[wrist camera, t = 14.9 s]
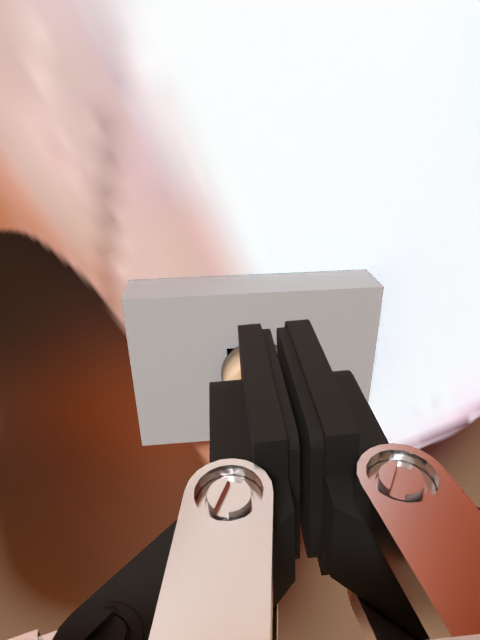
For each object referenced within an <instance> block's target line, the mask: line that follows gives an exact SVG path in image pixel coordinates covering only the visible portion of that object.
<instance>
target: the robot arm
mask: <svg viewBox="0 0 480 640" xmlns="http://www.w3.org/2000/svg"><path fill="white" fill-rule="evenodd" d="M276 335H277V352H276V348H275V345H274V341H273V337H272V333H271V330H270V329H262V327H261V323H258V324H246V325H238V341H239V355H240V369H241V379H240V380H229V381H217V382H210V383H209V427H210V463H209V464H207V465H205V466H204V467H202V468H201V469H199V470H197V472H196V473H195V474H194V475H193V476H192V477H191V478H190V479H189V482H188V484H187V486H186V488H185V491H184V496H183V500H182V504H181V508H180V512H179V516H178V519H177V520H176V521H175V522H174V523H173V524H171V525H170V526H169V527H168V528H167V529H166V530H165V531H164V532H163V533H161V534H160V535H159V536H158V537H157V538H156V539H155V540H154V541H152V542H151V543H150V544H149V545H148V546H147V547H146V548H145V549H143V550H142V551H141V552H140V553H139V554H138V555H137V556H136V557H134V558H133V559H132V560H131V561H130V562H129V563H128V564H127V565H125V566H124V567H123V568H122V569H121V570H120V571H119V572H118V573H116V574H115V575H114V576H113V577H112V578H111V579H110V580H109V581H107V582H106V583H105V584H104V585H103V586H102V587H101V588H100V589H99V590H97V591H96V592H95V593H94V594H93V595H92V596H91V597H90V598H89V599H87V600H86V601H85V602H84V603H83V604H82V605H81V606H79V607H78V608H77V609H76V610H75V611H74V612H73V613H72V614H71V615H70V616H69V617H68V618H67V619H66V620H65V621H64V623H63V624H62V625H61V626H60V627H59V629H58V630H57V631H54V632H51V633H48V634H45V635H43V636H41V635H40V633H39V631H38V629H37V630H34V631H31V632H28V633H25V634H22V635H19V636H16V637H13V638H10V639H7V640H278V602H279V601H280V600H281V598H282V597H283V596H284V594H285V593H286V592H287V591H288V589H289V588H290V586H291V585H292V584H293V583H294V581H295V559H299V558H300V526H301V530H302V535H303V540H304V544H305V549H306V553H307V556H308V558H313V557H317V558H318V562H319V566H320V571H321V575H330V576H331V577H332V578H333V579H335V580H336V581H337V582H339V583H340V584H342V585H343V586H345V587H346V588H347V589H348V591H347V593H348V597H349V601H350V605H351V607H352V609H353V611H354V614H355V616H356V619H357V621H358V623H359V625H360V628H361V630H362V632H363V635H364V637H365V639H366V640H480V508H478V507H476V505H475V504H474V503H473V502H472V501H471V500H470V498H469V497H468V496H467V495H466V494H465V492H464V491H463V490H462V489H461V488H460V487H459V485H458V484H457V483H456V482H455V481H454V479H453V478H452V477H451V476H450V475H449V474H448V472H447V471H446V470H445V469H444V468H443V466H442V465H441V464H440V463H438V462H437V461H436V460H435V459H434V458H433V457H432V456H430V455H428V454H427V453H425V452H423V451H421V450H420V449H417V448H414V447H410V446H407V445H401V444H393V443H392V444H389V443H388V441H387V439H386V437H385V435H384V433H383V431H382V429H381V427H380V425H379V423H378V422H377V420H376V418H375V416H374V414H373V412H372V410H371V408H370V406H369V404H368V402H367V400H366V398H365V397H364V395H363V393H362V391H361V389H360V387H359V385H358V383H357V381H356V379H355V377H354V375H353V374H352V372H351V371H349V370H342V371H332V369H331V367H330V365H329V362H328V360H327V358H326V356H325V353H324V351H323V349H322V347H321V345H320V342H319V340H318V338H317V336H316V334H315V331H314V329H313V327H312V325H311V322H310V321H309V319H305V320H293V321H285V326H284V327H282V328H277V331H276Z"/></svg>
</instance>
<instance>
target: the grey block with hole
mask: <svg viewBox="0 0 480 640" xmlns="http://www.w3.org/2000/svg"><path fill="white" fill-rule="evenodd" d="M383 289H384V287H383V286H382V285H381V284H380V283H379V282H378V281H377V280H376V279H375V278H374V277H373V276H372V275H371V274H370V273H369V272H368V271H367V270H343V271H321V272H299V273H277V274H255V275H232V276H210V277H188V278H166V279H144V280H129V281H128V283H127V286H126V288H125V291H124V294H123V296H122V299H121V301H122V308H123V315H124V322H125V328H126V335H127V342H128V349H129V356H130V363H131V370H132V377H133V383H134V390H135V397H136V405H137V411H138V418H139V426H140V432H141V439H142V445H143V446H144V445H158V444H172V443H187V442H201V441H210V427H209V383H210V382H217V381H222V378H221V369H222V365H223V362H224V360H225V358H226V357H227V349H230V348H236V347H238V346H239V341H238V325H246V324H258V323H261V327H262V329H270V330H271V333H272V337H273V341H274V344H275V345H277V335H276V331H277V328H282V327H284V326H285V321H293V320H305V319H309V321H310V322H311V325H312V327H313V329H314V331H315V334H316V336H317V338H318V340H319V342H320V345H321V347H322V349H323V351H324V353H325V356H326V358H327V360H328V362H329V365H330V367H331V369H332V371H342V370H349V371H351V372H352V374H353V375H354V377H355V379H356V381H357V383H358V385H359V387H360V389H361V391H362V393H363V395H364V397H365V398H366V400H367V402H368V400H369V392H370V385H371V378H372V370H373V363H374V356H375V348H376V341H377V333H378V326H379V319H380V311H381V304H382V296H383Z"/></svg>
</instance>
